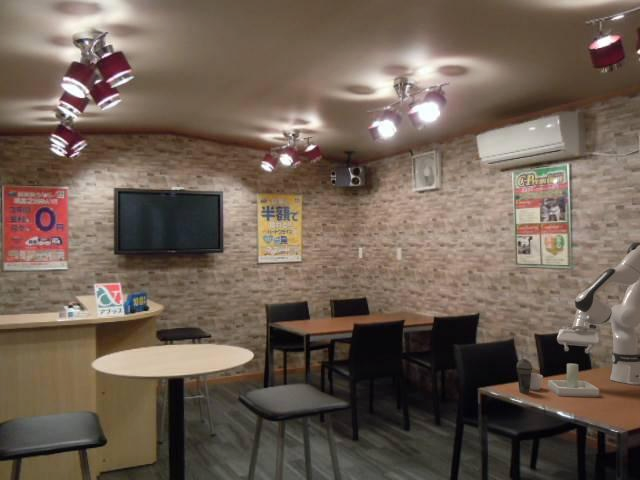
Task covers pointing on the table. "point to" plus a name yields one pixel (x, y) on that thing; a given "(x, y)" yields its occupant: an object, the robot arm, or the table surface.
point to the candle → (535, 381)
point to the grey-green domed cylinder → (572, 375)
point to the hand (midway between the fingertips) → (576, 351)
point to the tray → (573, 389)
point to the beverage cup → (524, 374)
